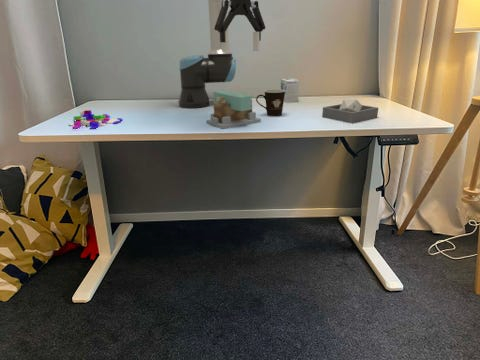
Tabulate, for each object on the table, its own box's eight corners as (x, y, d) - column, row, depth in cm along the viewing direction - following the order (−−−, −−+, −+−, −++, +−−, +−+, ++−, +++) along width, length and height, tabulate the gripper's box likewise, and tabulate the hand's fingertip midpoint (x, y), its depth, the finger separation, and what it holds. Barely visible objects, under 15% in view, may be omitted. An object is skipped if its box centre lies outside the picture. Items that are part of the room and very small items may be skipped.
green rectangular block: (213, 104, 147) (213, 92, 146) (223, 103, 150) (223, 90, 148) (241, 111, 134) (240, 97, 132) (251, 109, 137) (251, 95, 135)
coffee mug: (285, 113, 160) (286, 89, 156) (282, 117, 152) (283, 92, 148) (260, 112, 163) (260, 89, 159) (255, 116, 155) (255, 92, 151)
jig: (222, 129, 135) (221, 119, 134) (205, 123, 144) (205, 114, 143) (261, 121, 145) (261, 112, 144) (243, 116, 154) (243, 108, 153)
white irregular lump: (335, 119, 149) (347, 103, 141) (335, 105, 154) (347, 89, 146) (353, 126, 150) (366, 110, 142) (353, 112, 155) (365, 96, 147)
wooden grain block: (220, 123, 138) (219, 98, 135) (214, 121, 142) (213, 96, 138) (252, 117, 146) (251, 94, 143) (245, 116, 150) (245, 92, 146)
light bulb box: (280, 99, 192) (280, 78, 188) (292, 98, 193) (292, 77, 189) (286, 102, 182) (286, 80, 178) (298, 102, 184) (299, 80, 180)
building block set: (115, 129, 140) (113, 118, 138) (60, 132, 138) (57, 120, 136) (127, 116, 163) (126, 106, 161) (80, 117, 161) (78, 107, 159)
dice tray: (322, 116, 151) (322, 107, 149) (347, 111, 159) (348, 102, 158) (351, 123, 140) (352, 113, 138) (377, 117, 148) (378, 107, 147)
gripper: (214, -19, 113) (217, 53, 121) (275, -15, 126) (274, 50, 134) (202, -17, 118) (205, 53, 126) (262, -13, 132) (261, 49, 140)
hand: (241, 51), depth 130 cm, fingers open, 13 cm apart
